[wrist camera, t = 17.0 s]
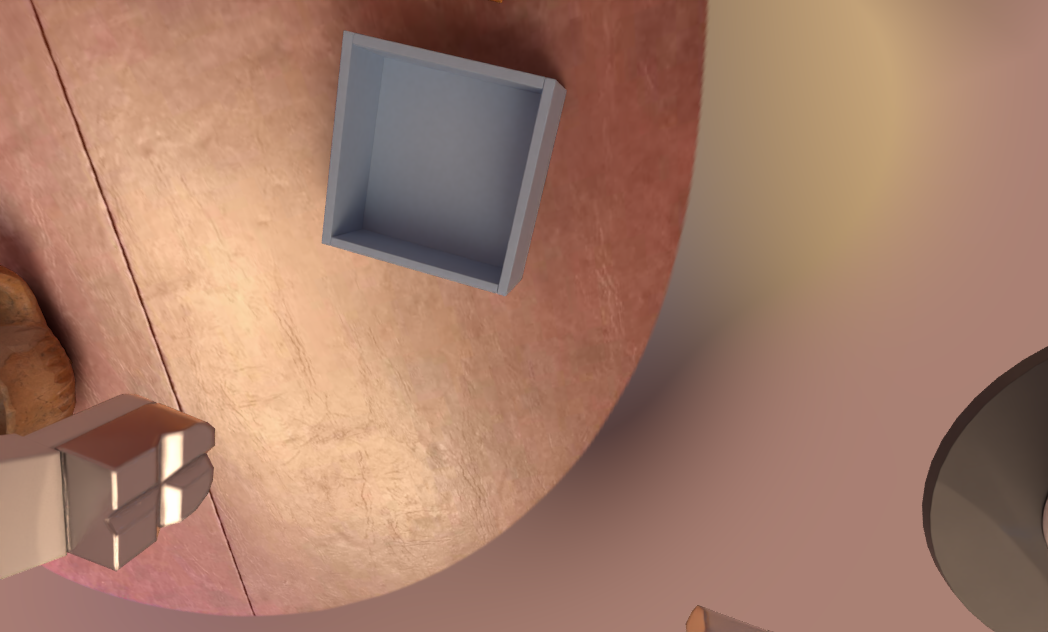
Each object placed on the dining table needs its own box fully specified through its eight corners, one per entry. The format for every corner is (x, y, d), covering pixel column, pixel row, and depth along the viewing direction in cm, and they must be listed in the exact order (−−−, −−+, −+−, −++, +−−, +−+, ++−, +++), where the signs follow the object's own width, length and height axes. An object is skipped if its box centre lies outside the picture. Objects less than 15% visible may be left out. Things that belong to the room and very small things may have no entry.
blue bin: (566, 90, 31) (556, 79, 27) (521, 279, 35) (505, 296, 31) (381, 46, 33) (343, 30, 29) (357, 233, 37) (321, 243, 33)
